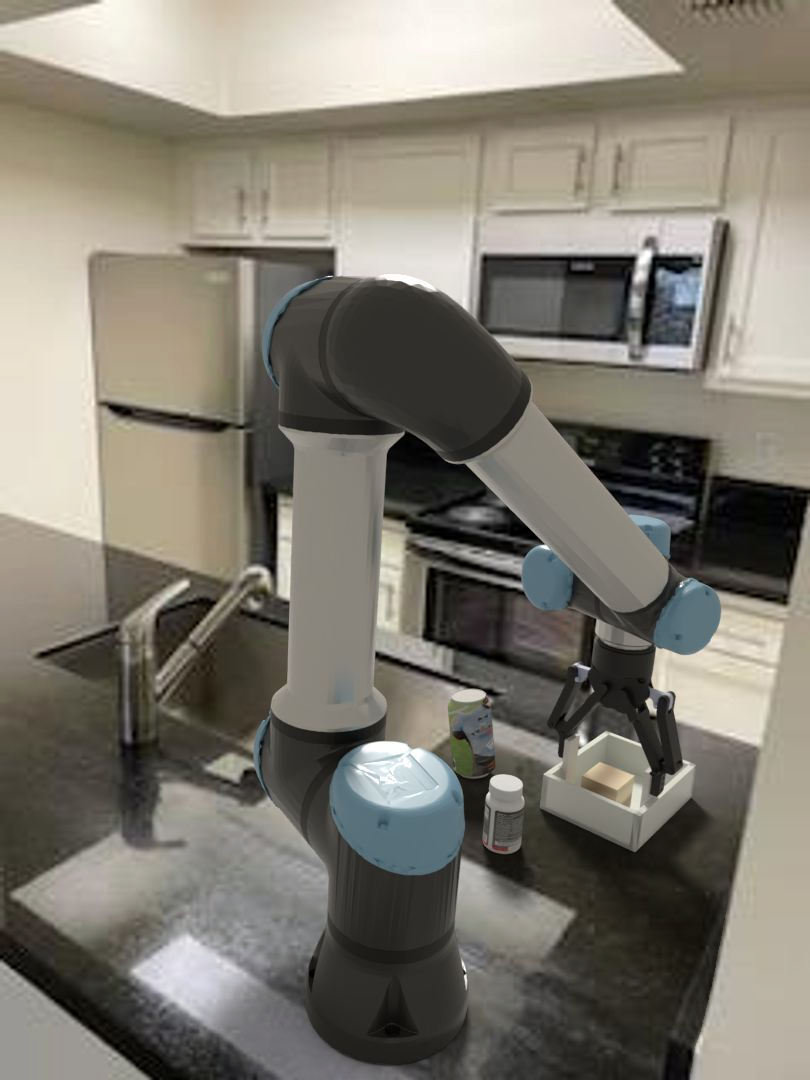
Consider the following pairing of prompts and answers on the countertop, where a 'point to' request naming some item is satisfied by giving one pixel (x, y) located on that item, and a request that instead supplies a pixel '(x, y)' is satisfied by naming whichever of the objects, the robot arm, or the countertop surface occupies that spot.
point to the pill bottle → (504, 814)
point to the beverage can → (471, 733)
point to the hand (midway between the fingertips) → (605, 797)
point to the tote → (609, 815)
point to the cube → (609, 783)
